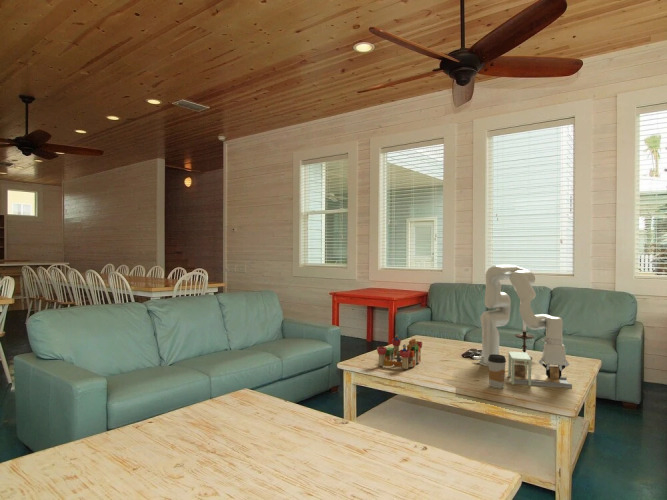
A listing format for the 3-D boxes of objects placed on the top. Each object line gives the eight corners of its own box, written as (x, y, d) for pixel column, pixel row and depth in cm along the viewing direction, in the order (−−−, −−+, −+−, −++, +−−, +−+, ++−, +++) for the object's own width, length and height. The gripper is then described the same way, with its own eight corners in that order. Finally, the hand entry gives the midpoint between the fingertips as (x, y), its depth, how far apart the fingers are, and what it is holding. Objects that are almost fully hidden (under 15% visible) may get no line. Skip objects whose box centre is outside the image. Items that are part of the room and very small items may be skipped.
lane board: (514, 383, 216) (514, 379, 216) (511, 376, 228) (511, 372, 228) (572, 388, 209) (572, 384, 209) (566, 381, 220) (566, 377, 220)
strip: (516, 380, 217) (516, 366, 217) (514, 375, 226) (514, 361, 226) (560, 384, 211) (560, 369, 211) (555, 378, 221) (556, 364, 220)
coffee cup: (496, 390, 206) (496, 359, 206) (484, 384, 214) (484, 355, 214) (509, 387, 210) (509, 357, 210) (496, 382, 217) (497, 353, 217)
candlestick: (534, 361, 259) (535, 303, 258) (515, 359, 262) (515, 302, 262) (532, 357, 269) (533, 301, 269) (514, 355, 272) (514, 300, 272)
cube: (514, 376, 219) (514, 366, 219) (513, 373, 224) (513, 364, 224) (525, 377, 218) (525, 367, 218) (523, 374, 223) (524, 365, 223)
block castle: (393, 354, 275) (393, 332, 275) (424, 358, 266) (424, 335, 266) (375, 365, 249) (375, 341, 249) (408, 370, 239) (408, 345, 239)
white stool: (511, 384, 215) (511, 358, 215) (508, 375, 229) (508, 351, 229) (531, 386, 213) (531, 359, 213) (526, 377, 227) (526, 352, 227)
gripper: (537, 341, 215) (536, 378, 215) (574, 344, 210) (574, 381, 211) (534, 338, 222) (534, 374, 222) (570, 340, 218) (570, 376, 218)
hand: (553, 377), depth 216 cm, fingers closed on strip, 4 cm apart
